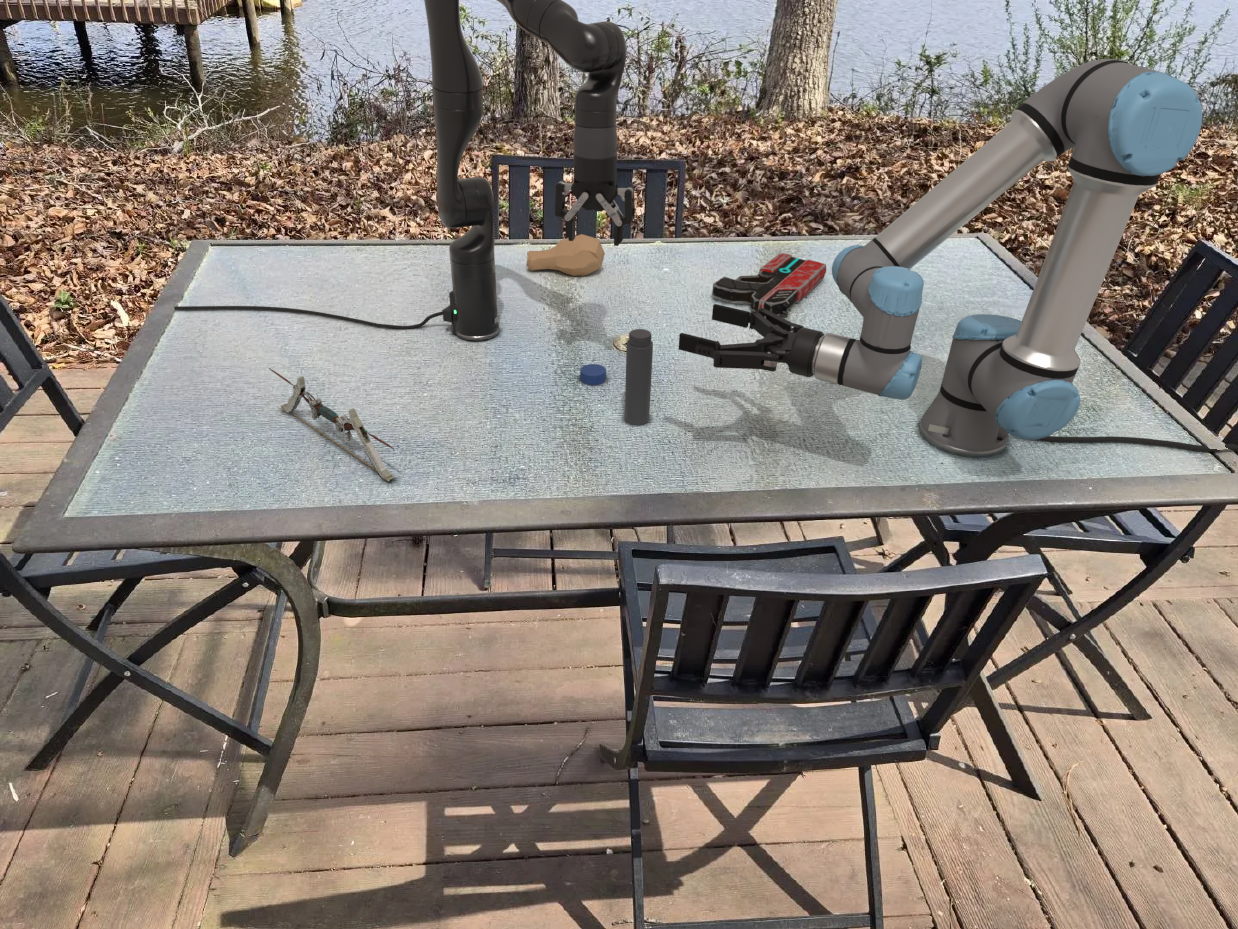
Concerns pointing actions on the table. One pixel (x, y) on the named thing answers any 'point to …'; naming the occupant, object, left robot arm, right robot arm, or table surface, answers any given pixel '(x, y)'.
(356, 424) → the bow
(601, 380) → the lid
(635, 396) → the dark grey bottle
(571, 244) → the squash
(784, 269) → the gun
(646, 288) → the table surface
